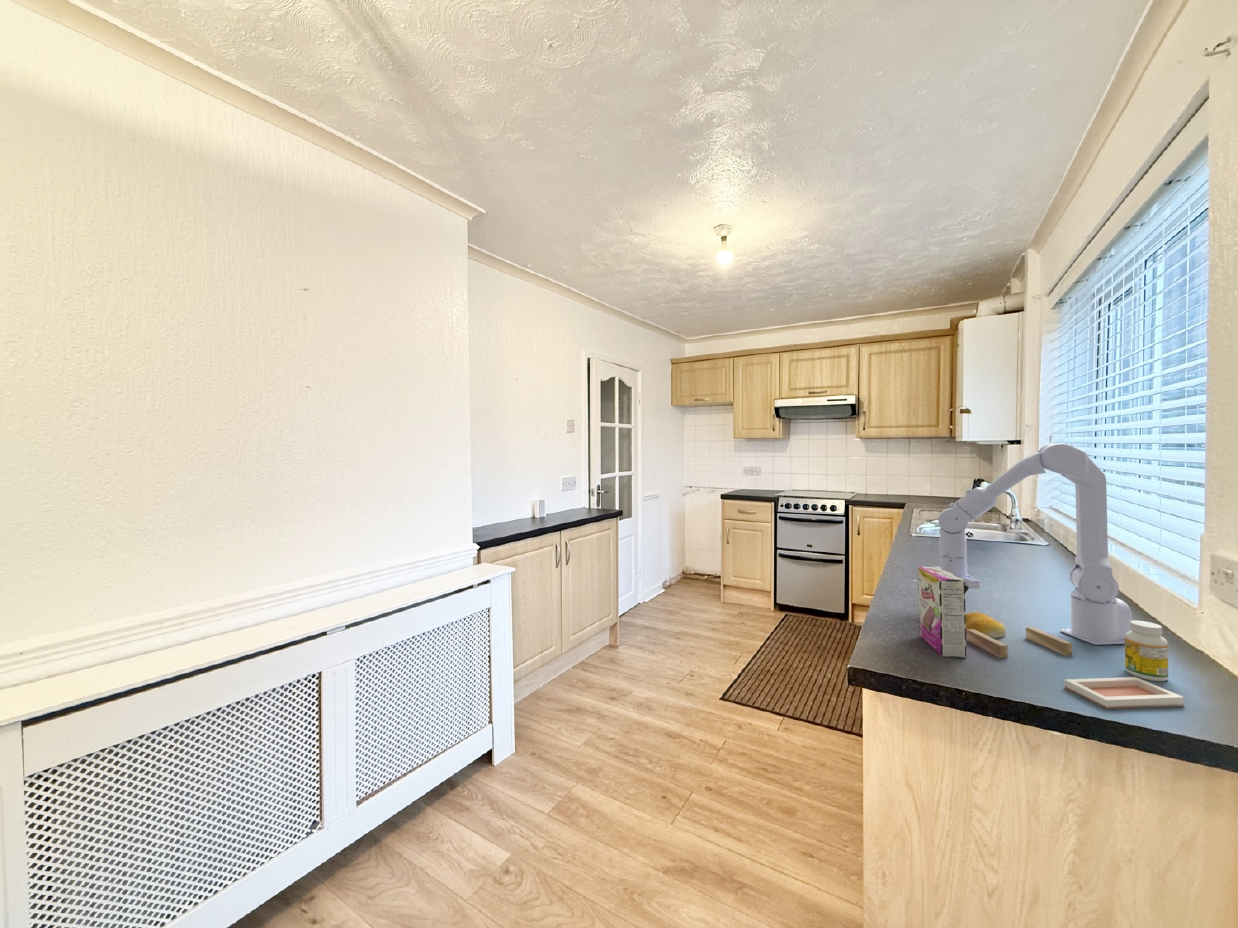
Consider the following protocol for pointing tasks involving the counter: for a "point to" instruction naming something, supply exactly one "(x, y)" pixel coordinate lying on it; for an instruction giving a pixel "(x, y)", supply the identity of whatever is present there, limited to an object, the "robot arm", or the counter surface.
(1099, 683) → the tray
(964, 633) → the candy bar box
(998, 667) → the counter surface
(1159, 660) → the supplement bottle
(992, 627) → the bread roll
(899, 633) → the counter surface
